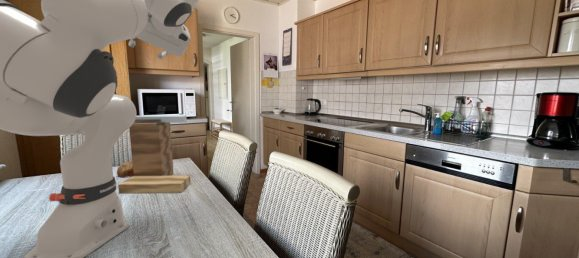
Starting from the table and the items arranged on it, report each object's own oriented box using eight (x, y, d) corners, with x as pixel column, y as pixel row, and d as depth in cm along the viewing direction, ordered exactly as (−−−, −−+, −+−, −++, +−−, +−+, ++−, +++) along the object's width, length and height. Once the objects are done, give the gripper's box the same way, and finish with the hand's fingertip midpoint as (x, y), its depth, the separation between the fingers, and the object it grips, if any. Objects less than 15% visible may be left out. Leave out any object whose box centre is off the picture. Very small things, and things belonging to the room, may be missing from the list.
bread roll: (127, 178, 124) (117, 164, 122) (147, 168, 126) (138, 154, 124) (120, 185, 114) (109, 171, 112) (142, 174, 116) (132, 160, 114)
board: (181, 192, 98) (180, 184, 97) (119, 193, 97) (118, 184, 96) (190, 183, 108) (190, 175, 107) (133, 183, 107) (133, 175, 106)
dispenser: (162, 182, 108) (157, 119, 103) (134, 183, 107) (128, 120, 103) (173, 174, 119) (169, 117, 114) (148, 174, 118) (142, 117, 114)
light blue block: (183, 122, 107) (182, 116, 107) (131, 122, 107) (130, 116, 106) (186, 121, 111) (186, 115, 111) (136, 121, 111) (136, 115, 110)
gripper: (131, 8, 72) (111, 43, 77) (195, 42, 87) (174, 69, 93) (130, -3, 75) (111, 31, 80) (191, 31, 91) (172, 58, 96)
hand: (145, 51), depth 87 cm, fingers open, 8 cm apart
